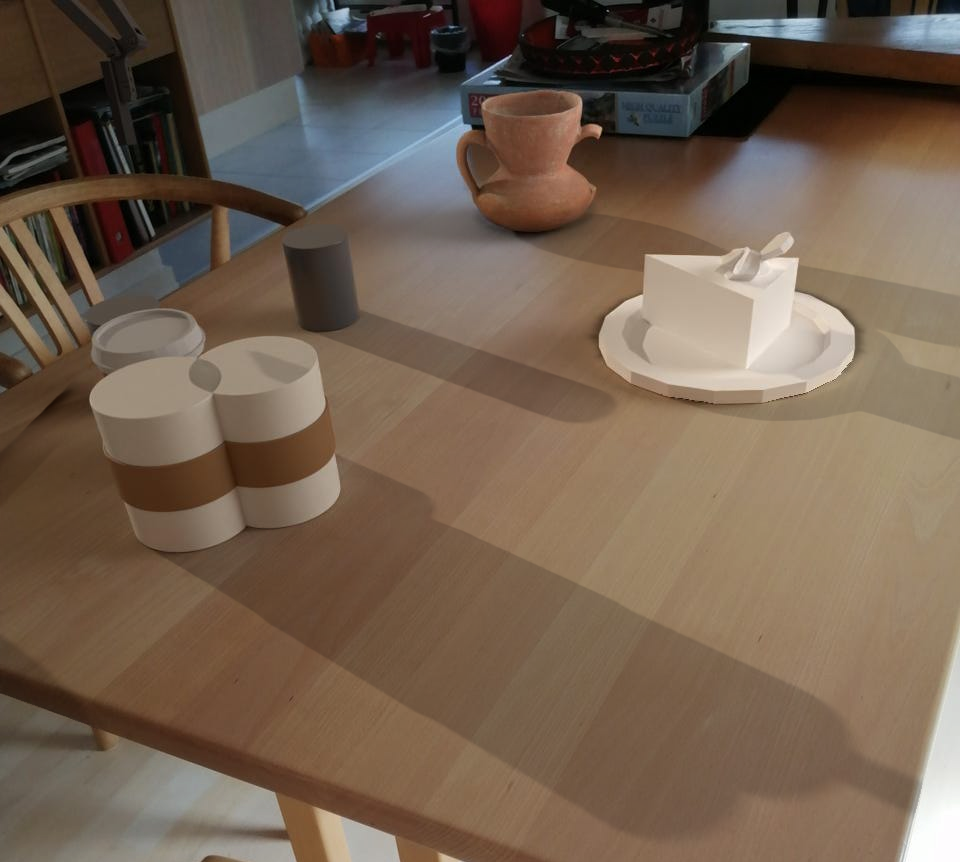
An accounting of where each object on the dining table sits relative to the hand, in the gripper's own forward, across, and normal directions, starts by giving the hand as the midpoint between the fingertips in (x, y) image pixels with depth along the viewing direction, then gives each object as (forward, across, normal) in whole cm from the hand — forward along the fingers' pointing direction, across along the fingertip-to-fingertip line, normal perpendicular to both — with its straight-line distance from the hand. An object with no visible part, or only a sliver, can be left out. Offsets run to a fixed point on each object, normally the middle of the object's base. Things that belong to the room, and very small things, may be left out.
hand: (54, 154), depth 93 cm
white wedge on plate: (+24, -60, -6) cm, 65 cm away
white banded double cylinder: (+28, -16, +19) cm, 37 cm away
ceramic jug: (+13, -42, -43) cm, 61 cm away
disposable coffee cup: (+26, -8, +10) cm, 29 cm away
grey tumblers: (+21, -11, -9) cm, 25 cm away
